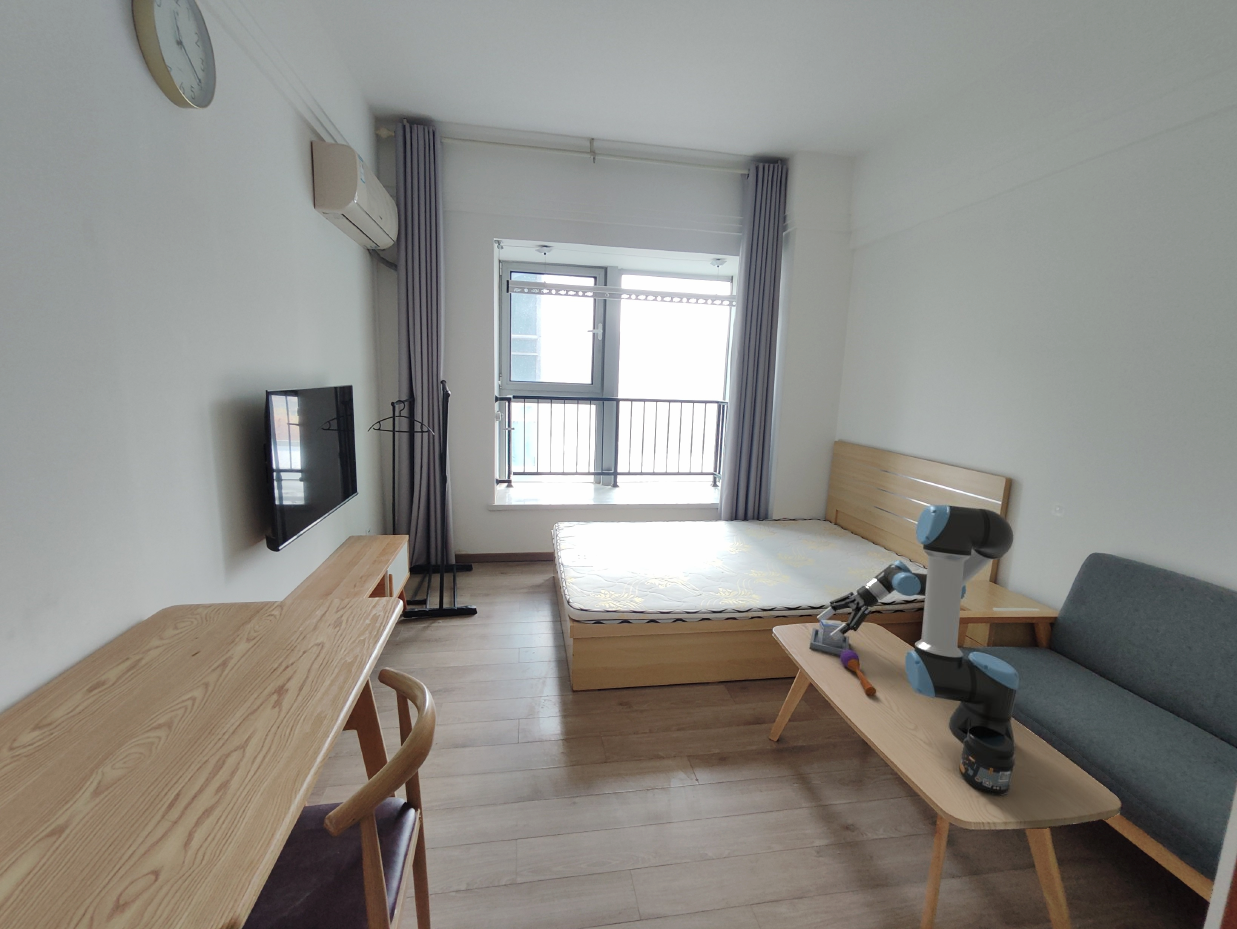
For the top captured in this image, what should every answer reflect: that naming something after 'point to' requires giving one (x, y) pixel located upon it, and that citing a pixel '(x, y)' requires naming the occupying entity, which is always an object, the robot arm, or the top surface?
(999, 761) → the supplement container
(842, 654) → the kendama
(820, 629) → the medicine box
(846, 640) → the tray
